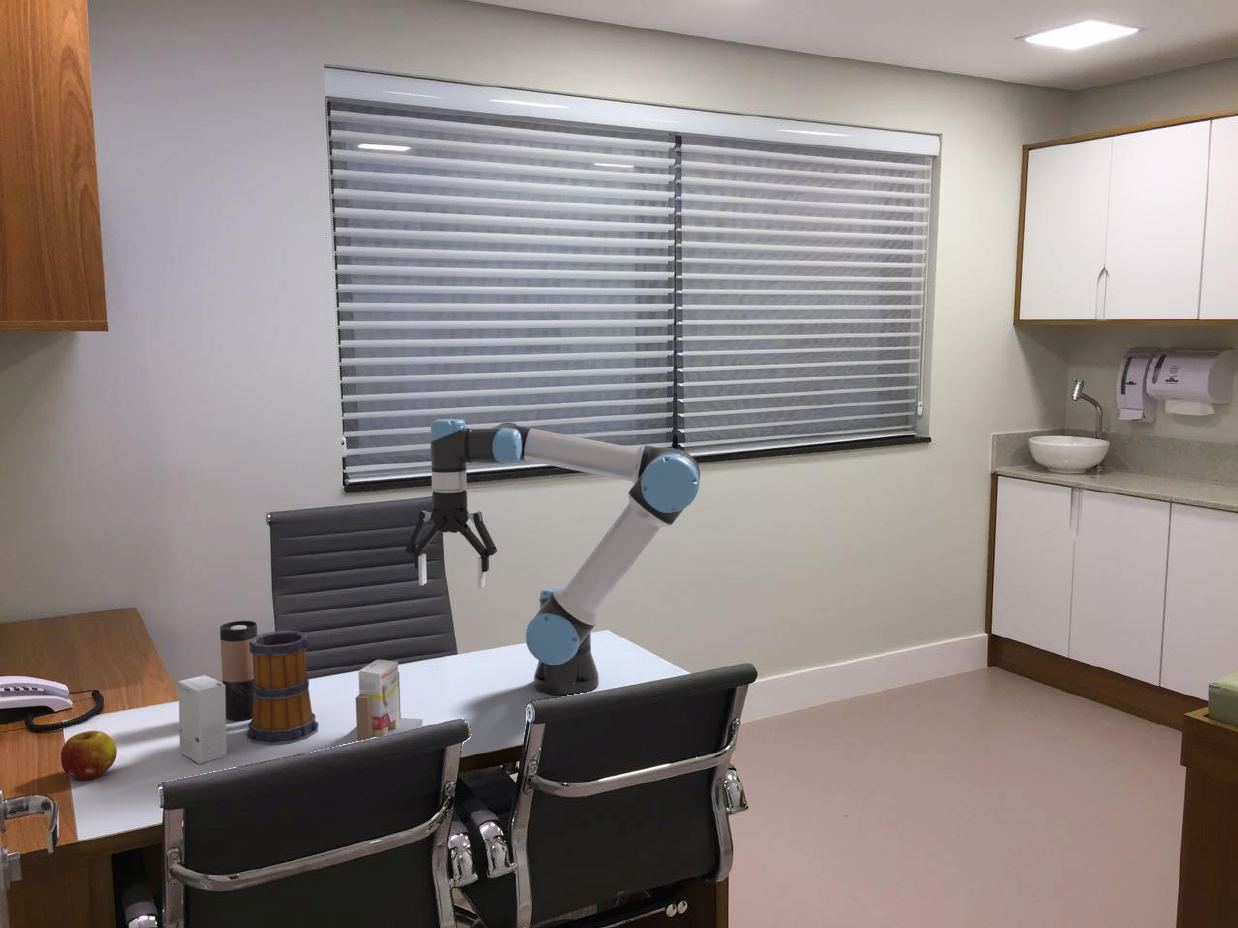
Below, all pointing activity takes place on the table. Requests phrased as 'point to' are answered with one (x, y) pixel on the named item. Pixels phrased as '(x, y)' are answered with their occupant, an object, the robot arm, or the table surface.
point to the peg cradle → (366, 726)
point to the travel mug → (238, 668)
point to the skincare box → (202, 718)
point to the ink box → (381, 691)
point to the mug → (280, 689)
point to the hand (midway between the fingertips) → (452, 585)
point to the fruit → (88, 755)
